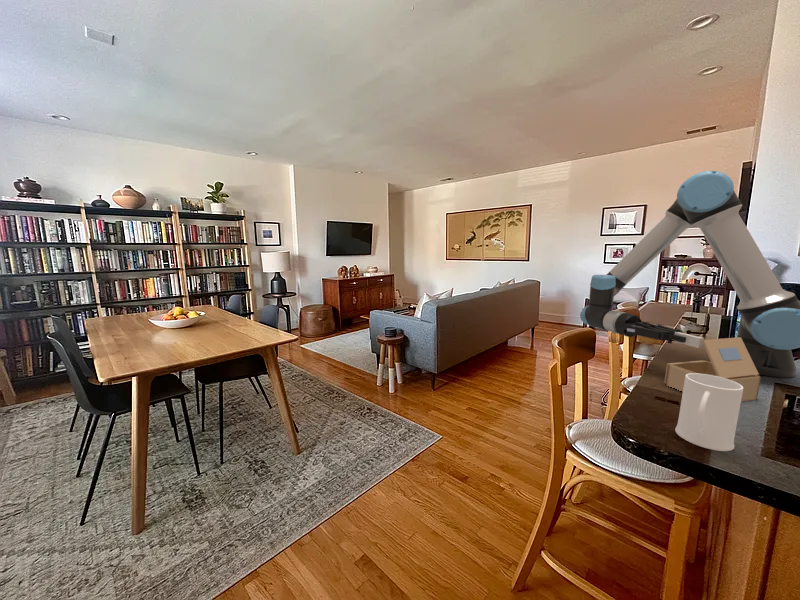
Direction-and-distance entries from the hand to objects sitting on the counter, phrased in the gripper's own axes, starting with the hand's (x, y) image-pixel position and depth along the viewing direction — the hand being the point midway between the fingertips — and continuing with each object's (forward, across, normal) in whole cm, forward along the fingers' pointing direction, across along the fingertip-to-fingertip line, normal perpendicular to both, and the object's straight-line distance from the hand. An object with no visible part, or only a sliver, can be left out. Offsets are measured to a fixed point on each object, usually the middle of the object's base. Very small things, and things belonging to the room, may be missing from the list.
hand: (701, 343), depth 87 cm
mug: (+20, +27, -13) cm, 36 cm away
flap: (+9, 0, -6) cm, 11 cm away
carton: (+3, 0, -12) cm, 13 cm away
